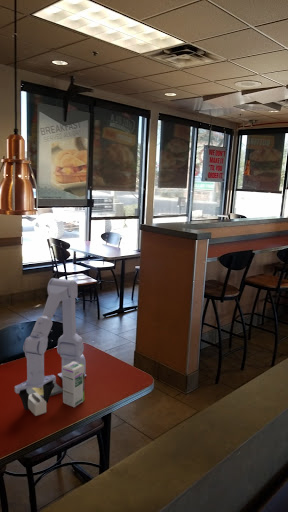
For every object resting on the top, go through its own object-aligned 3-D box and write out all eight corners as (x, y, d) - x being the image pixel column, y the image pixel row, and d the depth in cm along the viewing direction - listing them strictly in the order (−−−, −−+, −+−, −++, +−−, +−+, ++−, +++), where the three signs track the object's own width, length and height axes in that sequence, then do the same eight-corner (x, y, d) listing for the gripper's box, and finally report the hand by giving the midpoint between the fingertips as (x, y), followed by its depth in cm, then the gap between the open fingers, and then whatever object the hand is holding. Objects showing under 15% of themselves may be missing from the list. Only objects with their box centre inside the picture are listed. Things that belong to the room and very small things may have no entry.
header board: (50, 380, 162) (50, 371, 162) (63, 391, 154) (63, 382, 153) (19, 390, 154) (19, 380, 154) (31, 402, 146) (31, 392, 145)
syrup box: (74, 407, 143) (74, 370, 141) (62, 402, 146) (62, 365, 144) (84, 401, 148) (85, 364, 146) (72, 396, 151) (72, 360, 149)
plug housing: (36, 402, 146) (36, 390, 145) (46, 412, 140) (46, 399, 139) (26, 405, 144) (25, 393, 143) (35, 416, 138) (35, 403, 137)
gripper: (20, 379, 132) (21, 417, 134) (59, 368, 141) (59, 403, 143) (11, 371, 137) (12, 408, 139) (50, 361, 146) (50, 395, 148)
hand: (36, 405), depth 142 cm, fingers open, 7 cm apart
